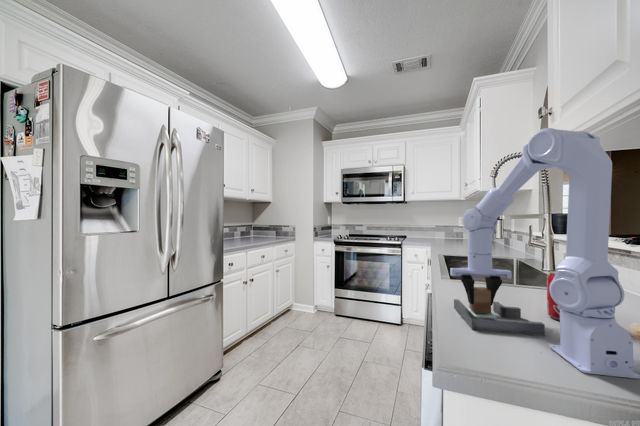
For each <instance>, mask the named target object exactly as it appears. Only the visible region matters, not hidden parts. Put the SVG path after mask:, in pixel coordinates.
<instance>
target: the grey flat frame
mask: <svg viewBox="0 0 640 426" xmlns="http://www.w3.org/2000/svg"><path fill="white" fill-rule="evenodd" d="M492 306H493V308H492V310H493V312H494V313H495V314H496V315H498V316H500V318H497V319H493V318H479V317H475V316H474V315H473V314H472V313H471V312H470V311H469V310H468V309H467V308H468V307H467V306H465V305H464V304H463V303H462V301H461V300H460V299H457V298H456V299H453V308H454V309H455V311H456V312H457V313H458V315H459V316H460V317H461V318H462V320H464V322H465V323H466V325H467V326H468V327H469V328H470V329H471V330H472V331H481V332H482V331H484V332H495V333H497V332H498V333H507V334H519V335H520V334H521V335H532V336H542V337H543V336H546V335H545V334H546V333H545V331H546V330H545V329H546V328H545V324H544V322H541V321H531V320H530V321H529V320H528V321H527V320H515V319H522V317H521V315H522V313H521V307H518V306H517V307H516V306H505V305H503V304H501V303H500V302H499V301H493V305H492ZM501 318H503V319H501ZM504 318H509V319H504Z"/></svg>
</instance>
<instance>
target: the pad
mask: <svg viewBox="0 0 640 426" xmlns="http://www.w3.org/2000/svg"><path fill="white" fill-rule="evenodd" d="M466 308H467V309H468V310H469V311H470V312H471V313H472V314H473V315H474V316H475V317H476V318H489V319H498V317H497V316H496V315H495V314H494V313H492V312H491V314H485V313H474V312H473V311H472V310H471V309H470V307H469V308H468V307H466Z"/></svg>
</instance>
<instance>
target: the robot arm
mask: <svg viewBox="0 0 640 426" xmlns="http://www.w3.org/2000/svg"><path fill="white" fill-rule="evenodd" d="M611 159H612V158H610V156H609V155H608V154H607V152H606V151H605V150H604V148H603V146H602V145H601V137H599V136H597V135H594V134H592V133H590V132H587V131H584V130H578V131H577V130H576V131H574V130H566V129H565V130H564V129H556V128H553V127H545V128H542V129H540V130H539V129H538V130H537V131H536V132H534V134H532V136H531V137H530V139H529V140H528V142H526V144H524V145H523V147H522V155H521V157H520V158H519V160H518V161H517V162H516V164H515V165H514V166H513V168H511V170H510V172H509V173H508V175H507V176H506V177H505V178H504V180H503V181H502V182H501V184H500V185H499V186H498V187H493V188H490V189H488V190H487V191H486V192H485V195H484V196H483V198H482V199H481V200H480V201H479V202H478V203H477V204H476V205H475V207H473V208H470V209H466V210H465V211H464V213H463V214H462V219H461V220H462V225H463V226H464V228H465V230H467V267H450V268H449V269H450V272H449V273H450V276H452V277H459V279H460V281H461V283H462V285H463V287H464V290H465V293H466V295H467V301H468V303H470V304H473V303H474V295H473V290H474V287H475V282H476V281H475V280H474V279H473V277H479V278H484V280H485V288H487V289H488V290H490V291H491V306H493V302H495V297H496V295H497V291H499V289H500V287H501V286H502V284H503V278H504V279H512V278H513V275H512V271H511V270H509V269H498V268H497V269H496V268H493V236H494V235H495V229H496V227H497V226H498V221H499V220H498V218H499V217H500V216H501V215H502V214H503V213H504V212H505V211H507V209H508V208H509V207H510V206H511V204H512V205H513V203H514V194H516V193H517V192H518V190H520V189H521V188H522V187H523V186H524V185H525V184H526V183H527V182H529V181H530V179H532V178H533V177H534V175H536V174H537V173H538V172H539V171H542V170H547V169H551V168H558V170H559V169H560V171H562V172H564V173H566V174H567V175H568V176H569V177H568V198H567V199H568V200H567V201H568V202H567V218H566V219H567V220H566V221H567V222H566V245H565V257H564V258H563V259H562V261H561V262H560V263H559V264H558V265H557V266H555V271H556V273H555V277H554V279H553V280H552V281H551V283H550V286H549V291H550V295H551V297H552V299H553V300H554V302H555V303H556V304H557V305H558V309H560V320H559V342H560V343H559V344H549V345H548V347H549V348H550V349H551V350H553V351H554V352H555V353H556V354H558V355H559V356H560V357H562V358H563V359H564V360H566V361H567V362H568V363H570V364H571V365H572V366H574V367H575V368H576V369H577V370H578V371H580V372H582V373H584V374H592V375H603V376H609V377H621V378H627V379H628V378H630V379H640V374H638V373H636V372H635V371H634V341H633V337H632V335H631V333H629V331H628V330H627V329H625V328H624V327H622V325H620V324H619V323H618V322H617V320H616V307H618V306H620V305H621V304H622V303H623V302H624V300H625V290H624V288H623V286H622V284H621V283H620V281H619V271H618V269H616V268H615V266H613V265H612V263H610V262H609V260H608V257H609V238H610V220H611V217H610V215H611V199H612V198H611V197H612V196H611V195H612V178H613V177H612V175H613V162H612V160H611Z"/></svg>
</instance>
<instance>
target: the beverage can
mask: <svg viewBox="0 0 640 426" xmlns="http://www.w3.org/2000/svg"><path fill="white" fill-rule="evenodd" d="M555 273H556V270H549V273H548V274H547V276H546V314H547V315H548V316H550V317H551V318H552V319H554V320H556V321H560V309H558V305H557V304H556V303H555V302H554V300H553V299H552V297H551V295H550V291H549V286H550V283H551V281H552V280H553V279H554V277H555Z"/></svg>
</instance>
